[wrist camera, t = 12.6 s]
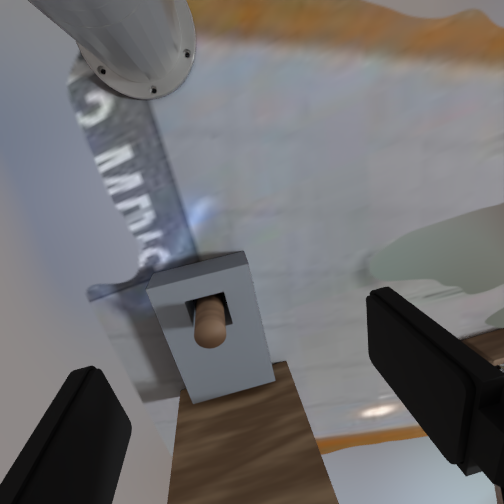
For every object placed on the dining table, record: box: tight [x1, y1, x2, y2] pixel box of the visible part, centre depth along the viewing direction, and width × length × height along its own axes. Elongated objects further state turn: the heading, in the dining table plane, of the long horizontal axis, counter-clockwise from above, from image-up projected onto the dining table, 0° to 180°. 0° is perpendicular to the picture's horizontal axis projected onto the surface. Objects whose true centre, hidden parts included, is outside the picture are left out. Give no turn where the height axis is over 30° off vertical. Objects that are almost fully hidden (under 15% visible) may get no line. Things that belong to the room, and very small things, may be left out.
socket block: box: [146, 251, 276, 404], centre depth 42 cm, size 22×14×5 cm, turn 12°
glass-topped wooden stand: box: [167, 361, 339, 504], centre depth 32 cm, size 12×20×32 cm, turn 102°
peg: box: [194, 292, 226, 349], centre depth 38 cm, size 4×4×10 cm
